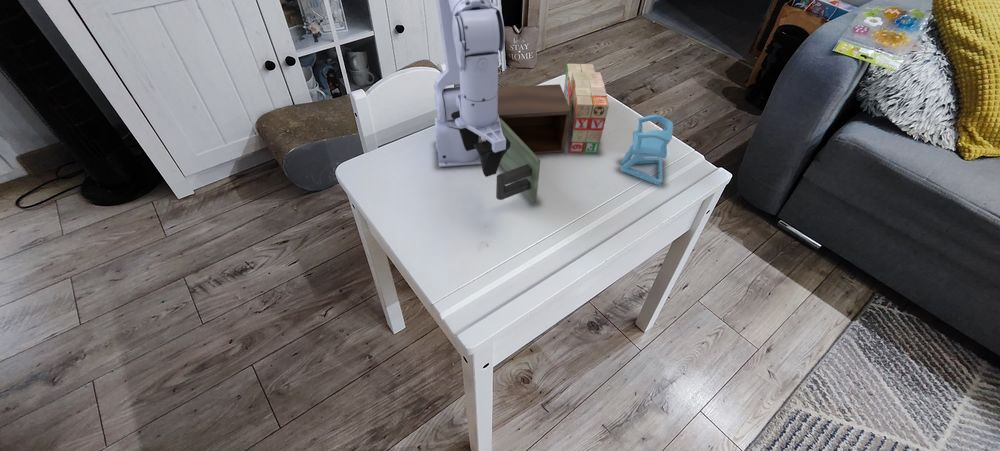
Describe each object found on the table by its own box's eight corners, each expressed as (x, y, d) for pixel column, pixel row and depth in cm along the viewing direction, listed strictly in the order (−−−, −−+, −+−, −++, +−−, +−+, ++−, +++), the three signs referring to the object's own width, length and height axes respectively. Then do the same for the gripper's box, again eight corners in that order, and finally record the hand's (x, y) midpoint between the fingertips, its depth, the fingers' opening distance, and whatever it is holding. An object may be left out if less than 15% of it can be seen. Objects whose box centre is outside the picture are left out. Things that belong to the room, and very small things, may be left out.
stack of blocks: (562, 98, 112) (568, 50, 103) (587, 98, 112) (596, 51, 103) (569, 153, 98) (577, 103, 89) (598, 154, 98) (609, 104, 89)
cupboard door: (501, 215, 85) (503, 173, 77) (466, 169, 93) (464, 128, 86) (536, 201, 88) (540, 159, 80) (498, 158, 96) (499, 117, 88)
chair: (621, 155, 98) (635, 106, 89) (661, 161, 97) (678, 113, 88) (619, 178, 93) (633, 129, 84) (661, 185, 92) (679, 136, 83)
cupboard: (564, 153, 98) (570, 110, 90) (496, 157, 96) (497, 115, 89) (554, 125, 105) (560, 84, 97) (491, 129, 103) (491, 87, 95)
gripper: (436, 75, 73) (443, 144, 83) (475, 123, 64) (477, 193, 74) (476, 65, 75) (478, 133, 85) (519, 110, 66) (515, 180, 76)
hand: (480, 161), depth 79 cm, fingers open, 7 cm apart
